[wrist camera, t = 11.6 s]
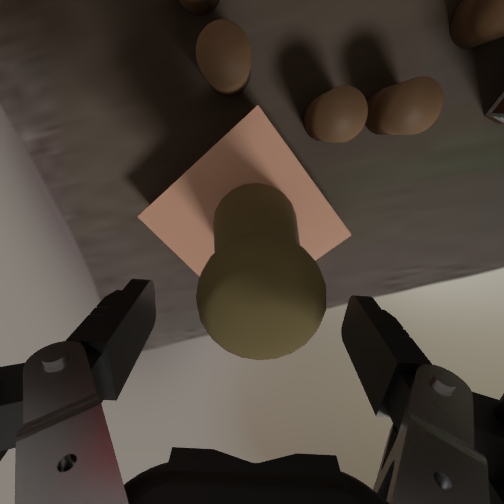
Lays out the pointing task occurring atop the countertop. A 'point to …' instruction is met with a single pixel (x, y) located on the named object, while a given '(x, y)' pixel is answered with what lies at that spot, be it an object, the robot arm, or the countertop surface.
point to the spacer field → (346, 97)
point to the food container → (497, 111)
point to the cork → (259, 277)
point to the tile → (232, 176)
